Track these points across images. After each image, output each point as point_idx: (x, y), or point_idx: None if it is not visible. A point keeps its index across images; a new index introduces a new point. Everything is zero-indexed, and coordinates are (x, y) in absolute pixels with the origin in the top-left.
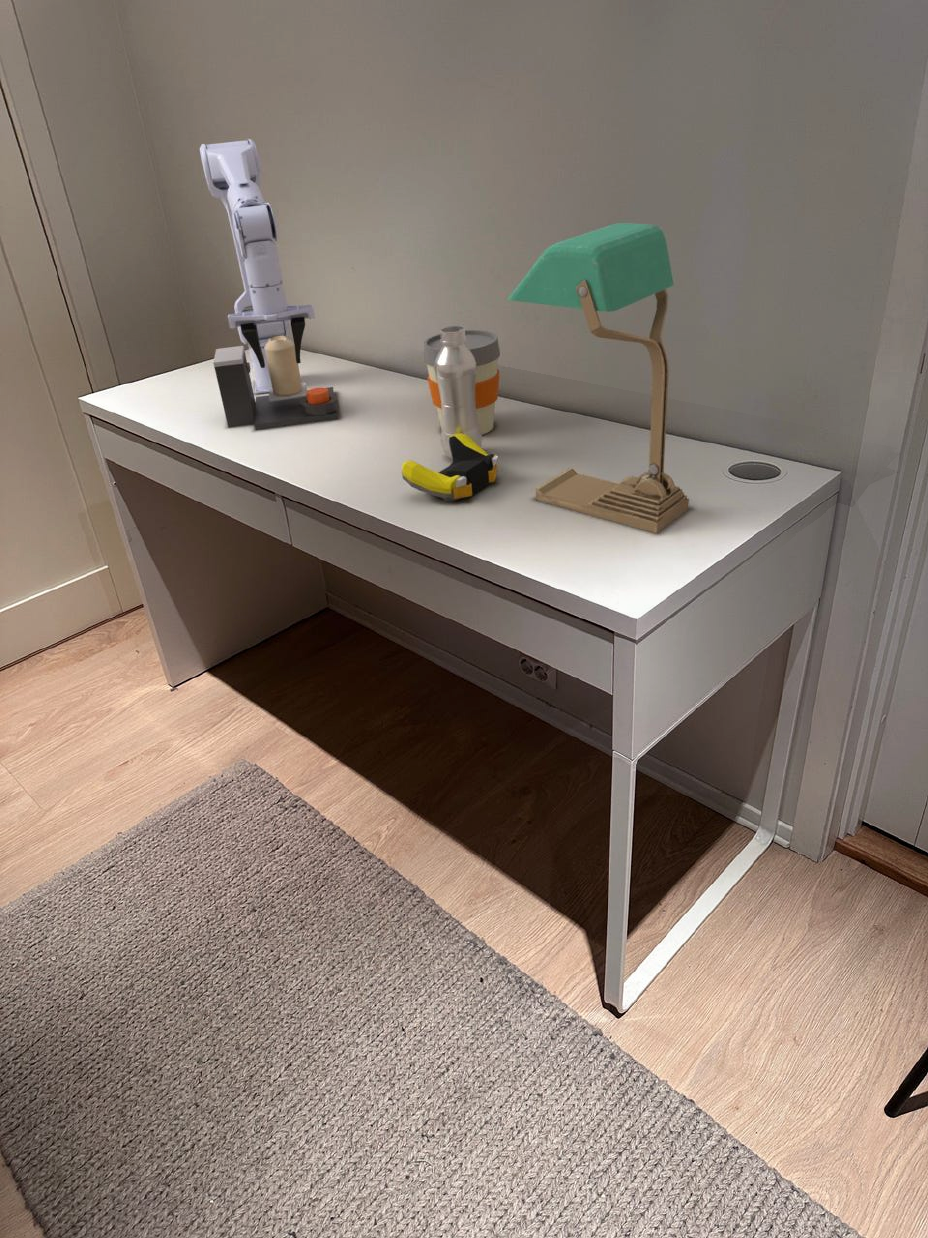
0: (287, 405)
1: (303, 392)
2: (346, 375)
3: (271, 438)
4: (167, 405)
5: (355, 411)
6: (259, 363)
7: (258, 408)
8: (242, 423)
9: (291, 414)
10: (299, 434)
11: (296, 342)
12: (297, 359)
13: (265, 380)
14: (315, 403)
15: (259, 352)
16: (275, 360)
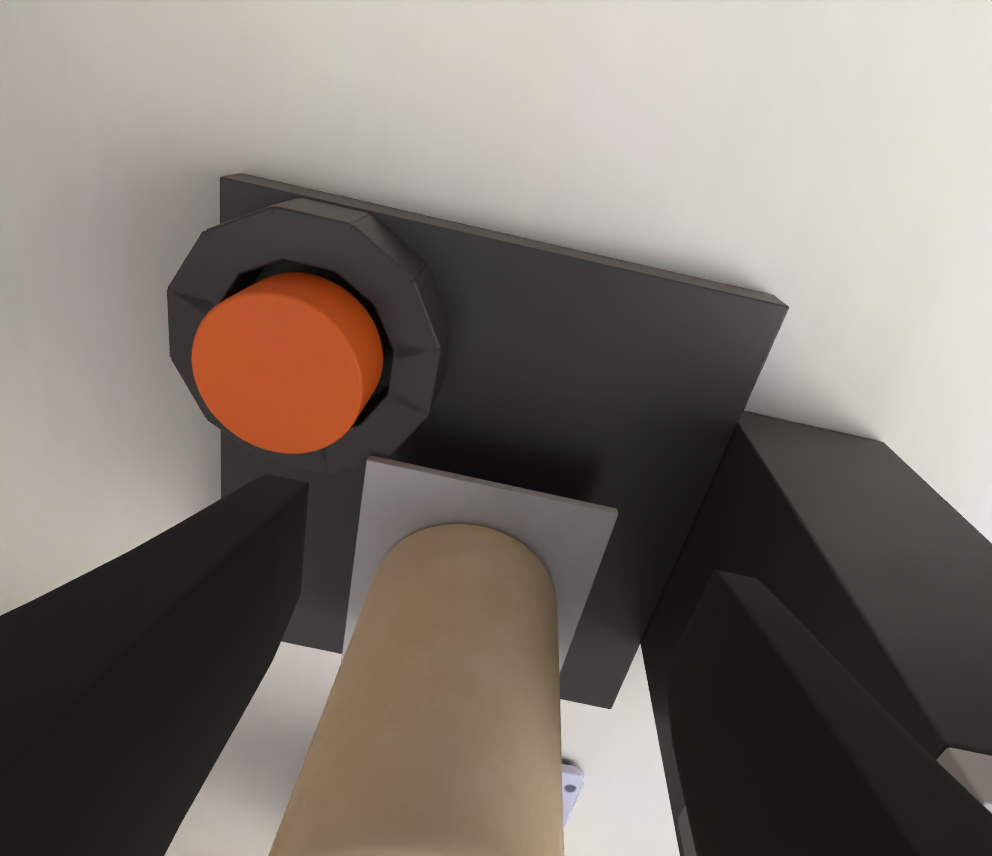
0: None
1: (379, 521)
2: None
3: (744, 67)
4: None
5: (127, 265)
6: (794, 618)
7: (658, 558)
8: (807, 429)
9: (515, 347)
10: (543, 24)
11: (48, 658)
12: (268, 492)
13: None
14: (333, 286)
15: (854, 734)
16: (505, 755)
